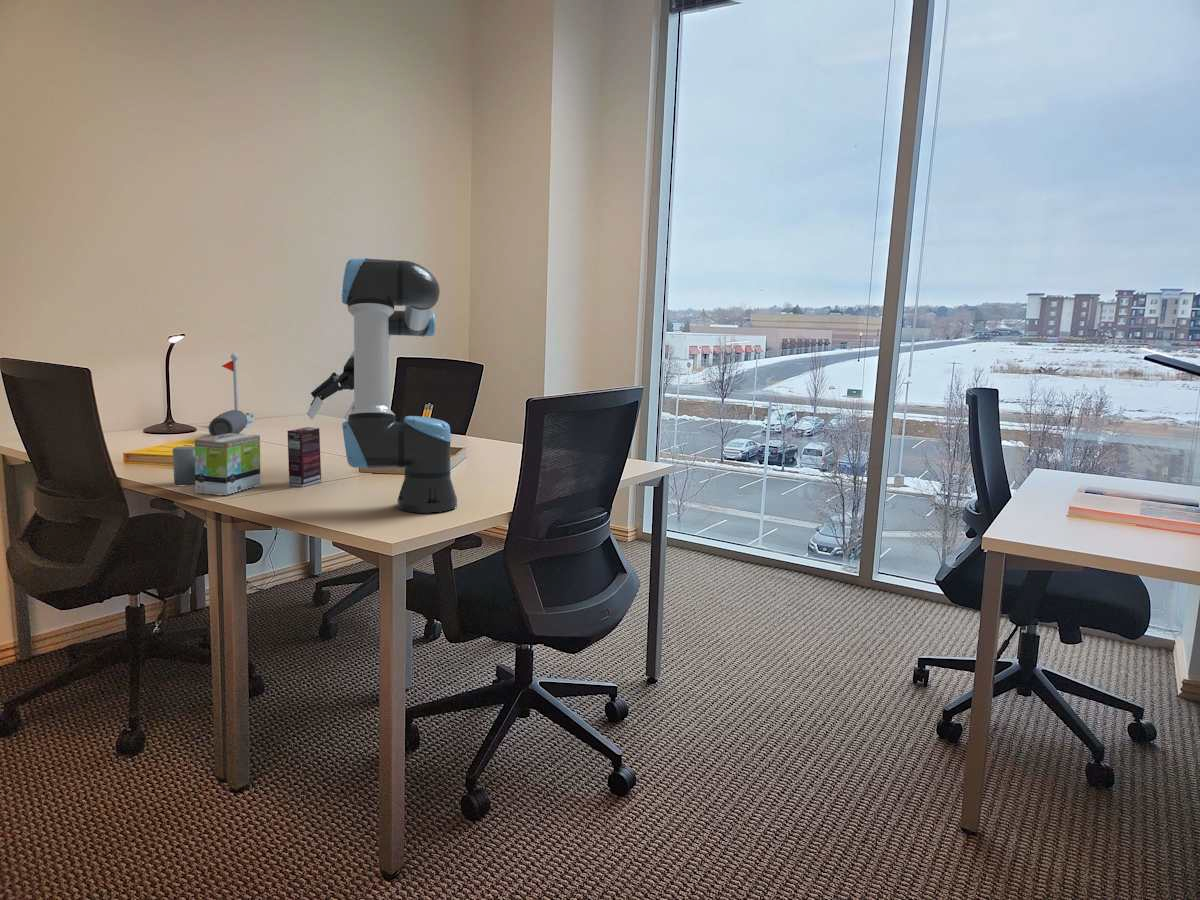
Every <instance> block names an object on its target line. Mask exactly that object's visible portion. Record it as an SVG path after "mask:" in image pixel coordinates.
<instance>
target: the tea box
mask: <svg viewBox="0 0 1200 900" xmlns="http://www.w3.org/2000/svg"><path fill="white" fill-rule="evenodd" d="M194 446H195V479H196V480H195V485H194V486H195V488H194V489H195V490H194V491H195V493H196V494H201V493H206V494H205V495H210V494H222V495H228V494H230V495H232V494H231V493H233V494H235V492H236V493H238V491H239V492H242V491H241V490H243V491H246V490H249V489H248V488H250V489H253V488H252V487H254V488H256V487H255V486H258V485H260V486H261V435H259V434H246V433H239V434H237V433H227V434H222V435H217V436H211V435H210V436H207V437H200V438H197V439H194ZM258 487H259V486H258ZM245 489H246V490H245ZM228 496H229V495H228Z"/></svg>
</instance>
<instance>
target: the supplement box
mask: <svg viewBox="0 0 1200 900" xmlns="http://www.w3.org/2000/svg"><path fill="white" fill-rule="evenodd" d="M320 440H321V439H320V428H318V427H310V426H309V427H301V428H297V429H291V430H290V429H289V430H287V456H288V457H287V458H288V460H287V461H288V482H289V483H288V484H289V486H290V485H291V486H290V487H296V486H300V487H299V488H304V486H305V487H308V486H312V485H315V484H317V483H321V482H322V470H321V469H322V468H321V465H322V462H321V441H320Z"/></svg>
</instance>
